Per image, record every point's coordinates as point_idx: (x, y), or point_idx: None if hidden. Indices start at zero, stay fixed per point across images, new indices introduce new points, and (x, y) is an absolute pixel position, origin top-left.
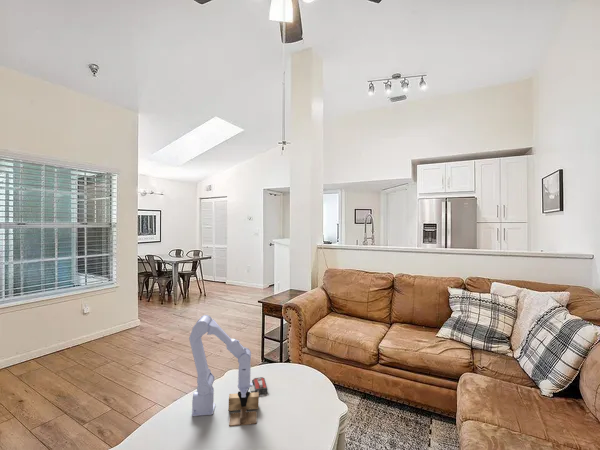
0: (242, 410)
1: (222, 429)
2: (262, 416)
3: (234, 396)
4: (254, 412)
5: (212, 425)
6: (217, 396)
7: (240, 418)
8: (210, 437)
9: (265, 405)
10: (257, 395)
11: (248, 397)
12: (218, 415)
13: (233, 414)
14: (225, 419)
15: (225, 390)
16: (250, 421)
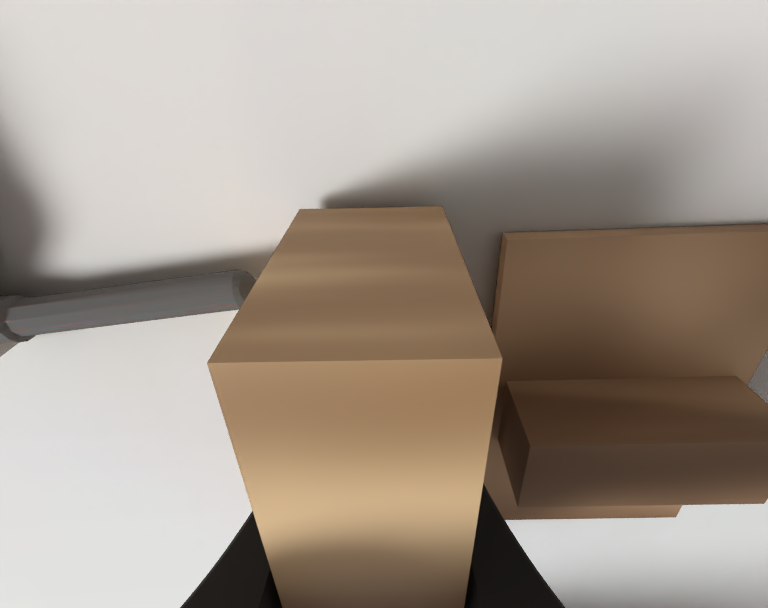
0: (597, 487)
1: (686, 539)
2: (661, 112)
3: None
4: (535, 271)
5: (592, 592)
6: (173, 602)
7: (761, 489)
8: (741, 589)
9: (307, 42)
10: (423, 393)
11: (468, 563)
12: None
13: (503, 497)
14: (543, 533)
15: (49, 567)
16: (741, 321)
